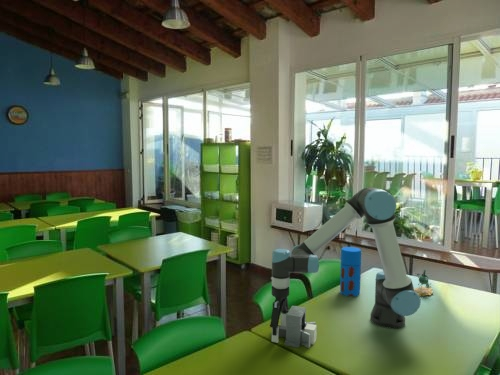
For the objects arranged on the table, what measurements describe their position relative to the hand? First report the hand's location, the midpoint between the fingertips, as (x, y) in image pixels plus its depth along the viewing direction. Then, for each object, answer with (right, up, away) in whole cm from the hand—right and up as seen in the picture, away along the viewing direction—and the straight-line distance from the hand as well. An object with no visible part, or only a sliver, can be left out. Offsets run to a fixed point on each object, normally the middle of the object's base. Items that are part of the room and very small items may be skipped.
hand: (279, 334), depth 159 cm
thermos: (+43, +4, +49) cm, 65 cm away
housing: (+9, 0, -3) cm, 9 cm away
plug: (+6, 0, -2) cm, 6 cm away
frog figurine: (+85, +3, +50) cm, 99 cm away
